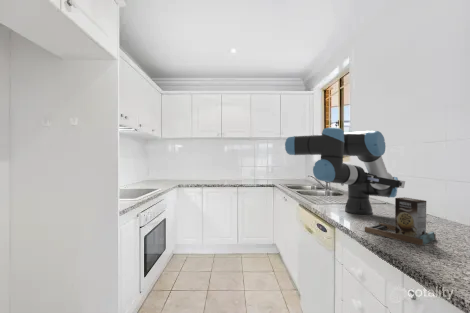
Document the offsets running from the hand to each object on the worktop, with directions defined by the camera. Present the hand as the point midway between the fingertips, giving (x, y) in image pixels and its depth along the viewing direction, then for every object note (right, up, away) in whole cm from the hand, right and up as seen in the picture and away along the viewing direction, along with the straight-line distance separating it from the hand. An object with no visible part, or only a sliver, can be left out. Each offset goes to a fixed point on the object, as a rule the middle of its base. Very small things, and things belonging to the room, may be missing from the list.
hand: (386, 180), depth 105 cm
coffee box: (+10, -24, +1) cm, 26 cm away
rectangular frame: (+8, -24, +5) cm, 26 cm away
